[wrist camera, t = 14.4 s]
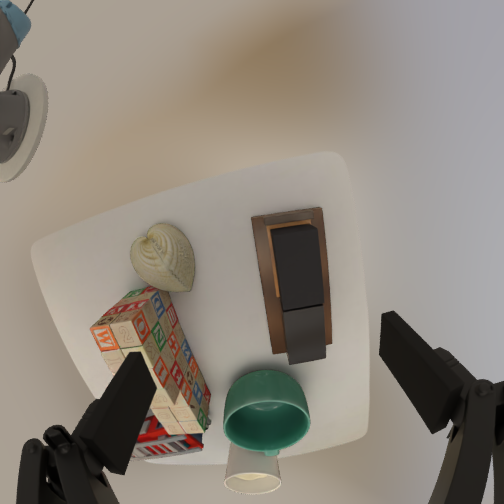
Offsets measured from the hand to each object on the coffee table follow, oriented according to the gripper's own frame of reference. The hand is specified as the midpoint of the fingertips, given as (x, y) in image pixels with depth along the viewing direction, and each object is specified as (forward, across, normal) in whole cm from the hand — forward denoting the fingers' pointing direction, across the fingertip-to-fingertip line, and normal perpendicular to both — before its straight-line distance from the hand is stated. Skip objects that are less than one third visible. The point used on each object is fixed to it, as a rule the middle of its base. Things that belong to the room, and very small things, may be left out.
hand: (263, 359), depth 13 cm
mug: (+24, -2, -26) cm, 35 cm away
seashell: (+24, -12, +1) cm, 27 cm away
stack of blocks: (+24, -15, -13) cm, 31 cm away
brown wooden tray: (+23, +5, -6) cm, 25 cm away
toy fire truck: (+24, -22, -29) cm, 44 cm away
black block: (+22, +5, -2) cm, 23 cm away
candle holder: (+23, -7, -37) cm, 45 cm away
